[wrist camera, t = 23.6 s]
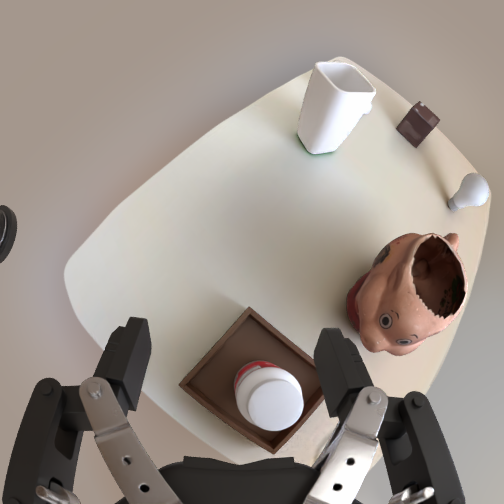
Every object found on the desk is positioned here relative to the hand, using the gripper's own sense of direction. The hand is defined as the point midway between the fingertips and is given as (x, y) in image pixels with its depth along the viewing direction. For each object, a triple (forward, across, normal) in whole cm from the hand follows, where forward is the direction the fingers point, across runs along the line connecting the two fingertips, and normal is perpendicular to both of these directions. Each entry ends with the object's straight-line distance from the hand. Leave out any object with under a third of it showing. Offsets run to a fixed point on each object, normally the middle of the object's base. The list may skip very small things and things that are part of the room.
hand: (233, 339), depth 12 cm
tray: (+11, -4, +19) cm, 22 cm away
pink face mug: (+19, -22, +11) cm, 31 cm away
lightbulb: (+31, -42, -2) cm, 52 cm away
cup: (+37, -13, -8) cm, 40 cm away
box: (+43, -36, -14) cm, 58 cm away
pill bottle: (+11, -4, +19) cm, 22 cm away
